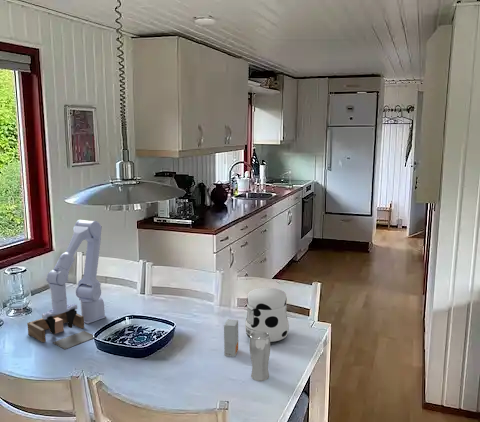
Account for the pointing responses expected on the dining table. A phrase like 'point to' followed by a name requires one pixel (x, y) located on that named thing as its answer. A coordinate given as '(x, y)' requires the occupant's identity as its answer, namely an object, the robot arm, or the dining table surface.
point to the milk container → (267, 313)
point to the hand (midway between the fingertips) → (61, 330)
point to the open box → (38, 332)
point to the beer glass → (260, 354)
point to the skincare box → (231, 338)
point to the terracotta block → (58, 325)
